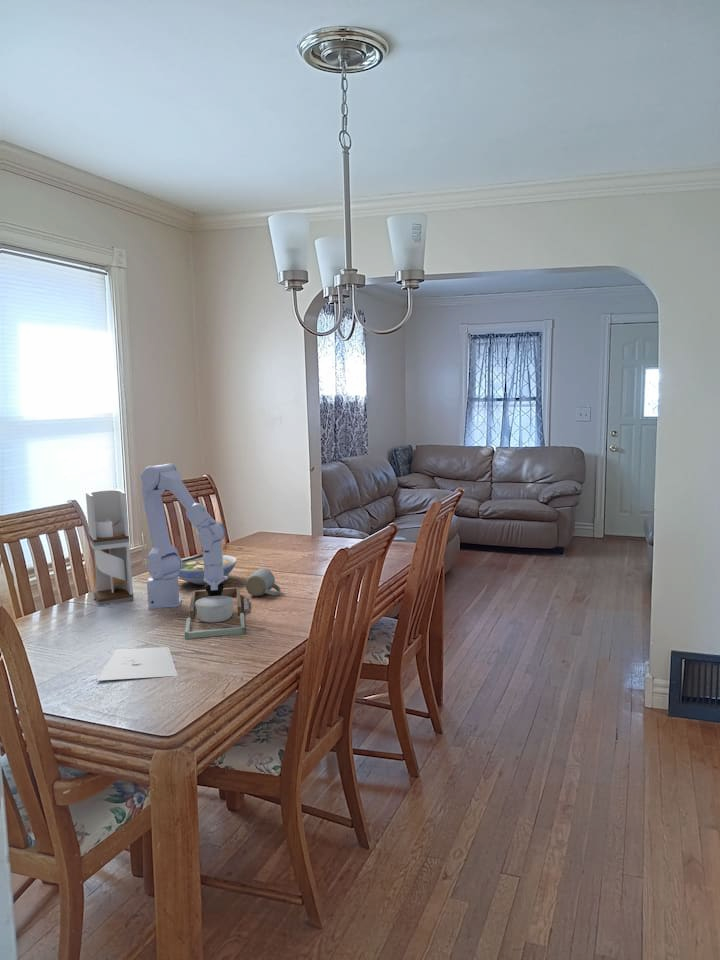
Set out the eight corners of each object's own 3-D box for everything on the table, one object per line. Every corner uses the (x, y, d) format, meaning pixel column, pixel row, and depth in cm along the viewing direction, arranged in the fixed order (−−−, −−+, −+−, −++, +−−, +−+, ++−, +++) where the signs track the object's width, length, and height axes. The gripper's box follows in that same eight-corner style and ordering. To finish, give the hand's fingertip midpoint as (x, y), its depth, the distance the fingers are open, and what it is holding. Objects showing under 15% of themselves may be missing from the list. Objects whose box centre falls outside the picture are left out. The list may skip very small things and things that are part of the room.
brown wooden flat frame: (189, 619, 210) (189, 611, 210) (192, 598, 233) (192, 590, 232) (241, 615, 213) (241, 606, 213) (239, 594, 235) (239, 587, 235)
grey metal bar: (244, 614, 215) (244, 609, 215) (244, 602, 227) (244, 598, 227) (249, 613, 216) (248, 609, 215) (249, 602, 227) (248, 598, 227)
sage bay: (184, 638, 194) (184, 633, 194) (187, 622, 207) (187, 617, 207) (245, 633, 197) (244, 627, 197) (243, 617, 210) (243, 612, 210)
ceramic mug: (244, 596, 233) (243, 573, 232) (254, 590, 240) (253, 567, 239) (275, 598, 230) (274, 575, 229) (284, 591, 238) (283, 568, 237)
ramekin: (230, 610, 218) (229, 593, 218) (238, 620, 208) (237, 602, 207) (193, 615, 214) (192, 598, 214) (199, 626, 204) (198, 608, 203)
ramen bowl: (198, 595, 235) (197, 571, 234) (155, 586, 249) (153, 563, 248) (254, 578, 255) (253, 556, 254) (210, 570, 269) (209, 549, 268)
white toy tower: (93, 597, 238) (85, 492, 234) (127, 592, 243) (119, 489, 238) (98, 605, 228) (90, 495, 224) (133, 600, 233) (125, 492, 228)
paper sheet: (118, 649, 189) (118, 645, 188) (230, 647, 190) (230, 643, 190) (89, 684, 165) (89, 679, 165) (217, 682, 166) (216, 677, 166)
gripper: (227, 568, 210) (229, 613, 212) (226, 557, 224) (229, 599, 226) (202, 569, 209) (205, 615, 211) (203, 558, 223) (206, 601, 225)
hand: (215, 607), depth 218 cm, fingers closed
